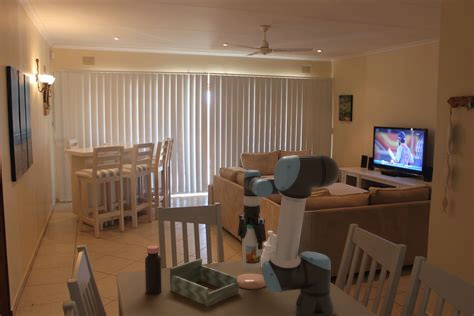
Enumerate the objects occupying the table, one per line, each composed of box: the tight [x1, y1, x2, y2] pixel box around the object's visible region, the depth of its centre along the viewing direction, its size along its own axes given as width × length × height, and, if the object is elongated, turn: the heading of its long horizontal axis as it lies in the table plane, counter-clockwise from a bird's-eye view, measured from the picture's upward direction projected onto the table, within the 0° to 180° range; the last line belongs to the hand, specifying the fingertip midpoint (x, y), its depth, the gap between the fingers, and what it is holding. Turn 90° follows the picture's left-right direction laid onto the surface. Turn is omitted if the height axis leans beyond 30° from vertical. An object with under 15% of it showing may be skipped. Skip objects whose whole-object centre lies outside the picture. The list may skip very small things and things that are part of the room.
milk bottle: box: [242, 224, 261, 270], centre depth 206 cm, size 8×8×20 cm
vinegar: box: [144, 244, 162, 295], centre depth 196 cm, size 7×7×20 cm
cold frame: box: [169, 257, 240, 307], centre depth 197 cm, size 24×18×10 cm
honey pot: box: [260, 230, 277, 269], centre depth 229 cm, size 13×13×18 cm
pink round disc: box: [236, 273, 267, 290], centre depth 208 cm, size 15×15×2 cm
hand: (251, 253), depth 207 cm, fingers closed on milk bottle, 8 cm apart
